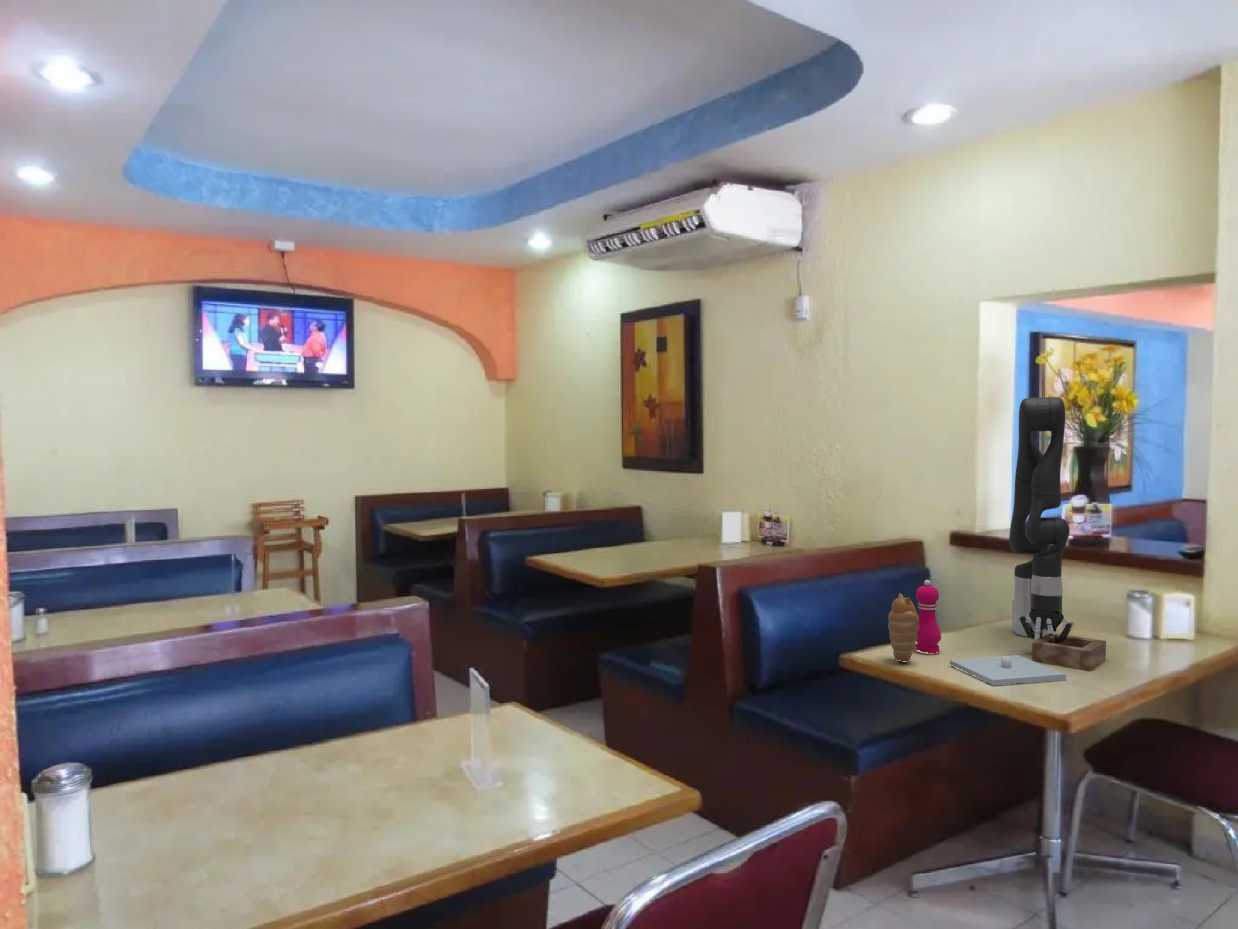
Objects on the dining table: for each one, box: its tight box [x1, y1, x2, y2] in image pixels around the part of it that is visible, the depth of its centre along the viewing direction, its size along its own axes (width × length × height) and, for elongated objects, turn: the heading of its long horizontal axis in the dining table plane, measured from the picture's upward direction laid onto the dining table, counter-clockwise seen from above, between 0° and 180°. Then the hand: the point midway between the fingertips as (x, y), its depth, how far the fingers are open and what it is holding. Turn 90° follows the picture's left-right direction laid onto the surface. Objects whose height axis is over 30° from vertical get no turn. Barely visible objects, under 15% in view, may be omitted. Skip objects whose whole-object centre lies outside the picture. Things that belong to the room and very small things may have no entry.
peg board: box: [949, 654, 1067, 687], centre depth 219 cm, size 18×20×4 cm
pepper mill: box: [914, 579, 942, 653], centre depth 239 cm, size 7×7×20 cm
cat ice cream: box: [887, 592, 919, 662], centre depth 229 cm, size 9×8×18 cm
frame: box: [1031, 633, 1107, 672], centre depth 229 cm, size 14×14×5 cm
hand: (1045, 655), depth 233 cm, fingers closed on frame, 2 cm apart
